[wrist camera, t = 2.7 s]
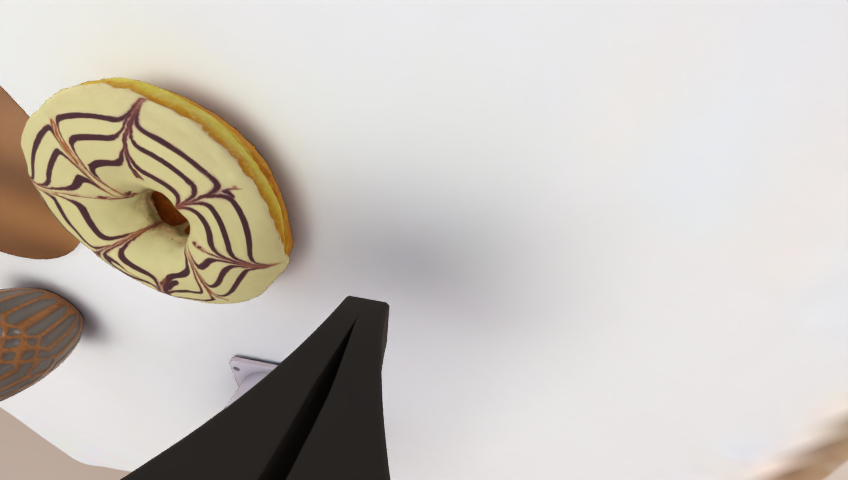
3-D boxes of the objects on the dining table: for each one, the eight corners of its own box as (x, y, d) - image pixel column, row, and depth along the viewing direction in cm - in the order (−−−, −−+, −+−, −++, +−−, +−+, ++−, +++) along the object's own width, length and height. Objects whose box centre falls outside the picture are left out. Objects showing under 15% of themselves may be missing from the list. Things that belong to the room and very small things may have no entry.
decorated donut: (210, 289, 20) (161, 335, 17) (57, 132, 15) (-53, 155, 12) (340, 249, 17) (309, 297, 13) (198, 31, 12) (96, 26, 9)
